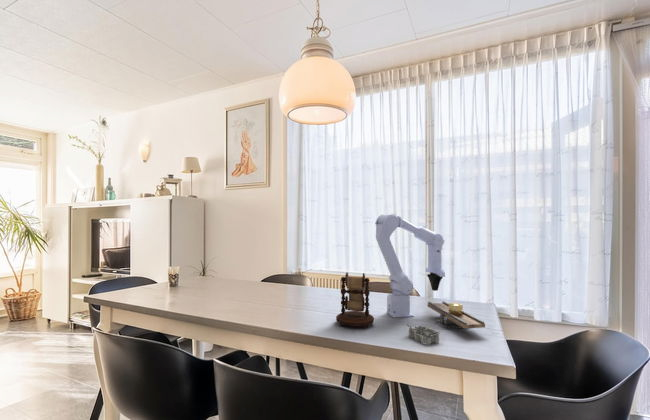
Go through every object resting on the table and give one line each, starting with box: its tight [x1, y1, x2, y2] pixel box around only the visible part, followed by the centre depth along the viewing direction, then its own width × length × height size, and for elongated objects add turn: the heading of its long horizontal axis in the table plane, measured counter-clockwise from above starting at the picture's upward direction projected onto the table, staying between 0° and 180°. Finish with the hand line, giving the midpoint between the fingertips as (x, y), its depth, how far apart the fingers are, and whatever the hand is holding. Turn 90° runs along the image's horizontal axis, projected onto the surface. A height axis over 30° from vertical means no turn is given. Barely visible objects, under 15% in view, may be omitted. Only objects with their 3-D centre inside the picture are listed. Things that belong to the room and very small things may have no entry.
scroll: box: [335, 272, 375, 329], centre depth 127 cm, size 15×15×20 cm
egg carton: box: [406, 324, 442, 345], centre depth 111 cm, size 11×8×4 cm
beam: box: [427, 301, 486, 329], centre depth 126 cm, size 8×28×2 cm, turn 8°
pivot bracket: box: [434, 313, 464, 330], centre depth 126 cm, size 11×8×4 cm
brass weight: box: [448, 302, 464, 316], centre depth 125 cm, size 5×5×4 cm
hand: (434, 290), depth 145 cm, fingers closed
